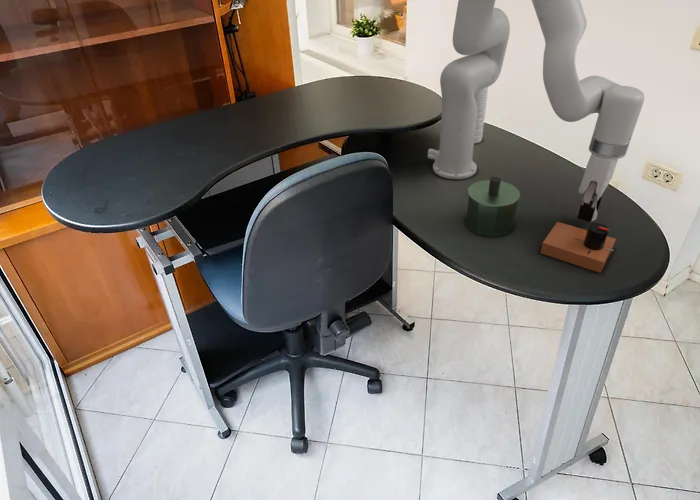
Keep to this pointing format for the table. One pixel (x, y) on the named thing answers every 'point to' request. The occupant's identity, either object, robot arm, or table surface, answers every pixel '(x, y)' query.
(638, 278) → the table surface
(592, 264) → the knob base block
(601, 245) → the stove knob
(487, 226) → the pot
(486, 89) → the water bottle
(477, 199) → the pot lid
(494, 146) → the table surface
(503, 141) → the table surface
